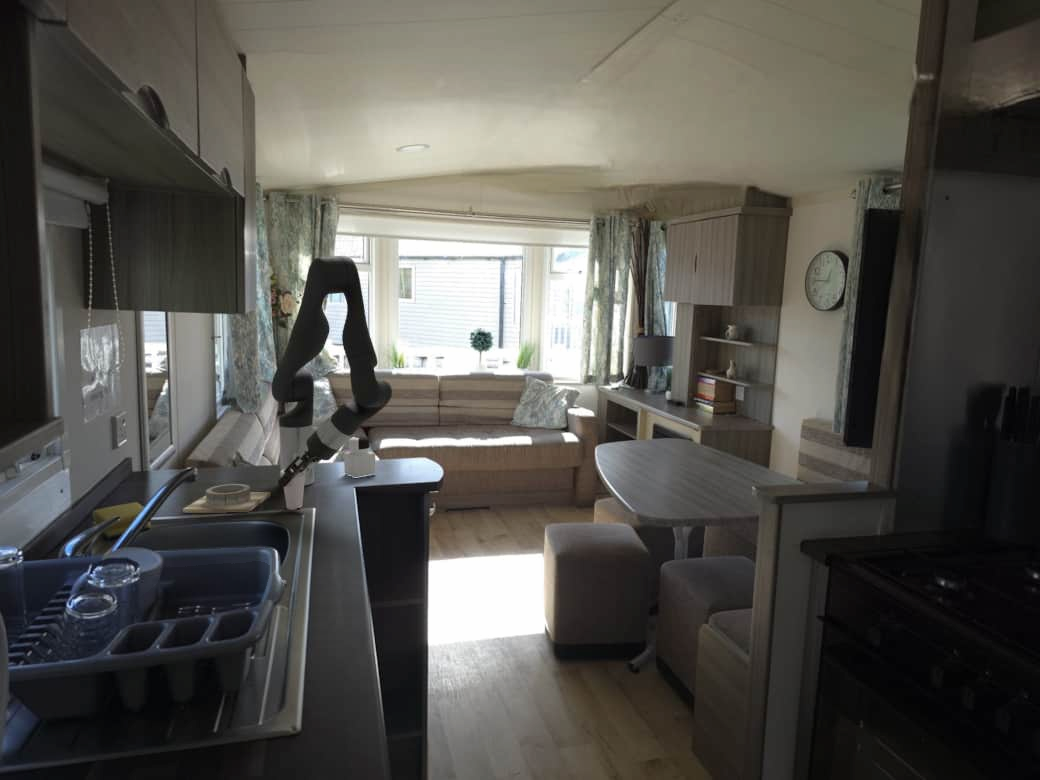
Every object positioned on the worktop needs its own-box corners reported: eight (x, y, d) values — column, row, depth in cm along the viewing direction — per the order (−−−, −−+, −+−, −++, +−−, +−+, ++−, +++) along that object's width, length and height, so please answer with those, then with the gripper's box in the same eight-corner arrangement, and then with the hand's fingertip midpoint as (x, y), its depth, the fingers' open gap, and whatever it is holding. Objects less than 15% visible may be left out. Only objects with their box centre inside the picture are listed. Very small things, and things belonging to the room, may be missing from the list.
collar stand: (211, 495, 182) (210, 481, 182) (270, 495, 182) (270, 481, 182) (183, 512, 166) (182, 497, 166) (247, 512, 167) (247, 497, 166)
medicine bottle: (365, 471, 212) (364, 434, 210) (375, 475, 206) (375, 437, 205) (344, 474, 207) (343, 436, 206) (354, 479, 202) (353, 440, 200)
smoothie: (299, 511, 168) (297, 456, 166) (276, 510, 169) (274, 455, 168) (312, 504, 174) (310, 451, 173) (289, 503, 175) (288, 450, 174)
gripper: (332, 422, 175) (291, 464, 178) (306, 431, 161) (262, 477, 164) (351, 443, 175) (310, 485, 178) (327, 454, 161) (283, 499, 164)
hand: (287, 481), depth 171 cm, fingers closed on smoothie, 6 cm apart
